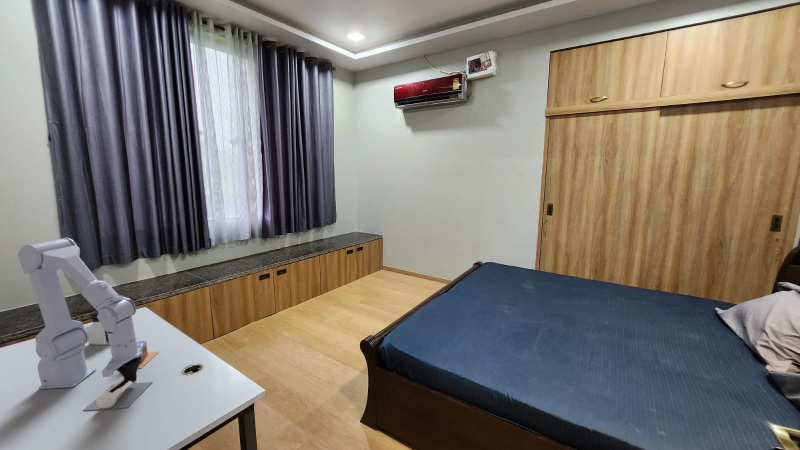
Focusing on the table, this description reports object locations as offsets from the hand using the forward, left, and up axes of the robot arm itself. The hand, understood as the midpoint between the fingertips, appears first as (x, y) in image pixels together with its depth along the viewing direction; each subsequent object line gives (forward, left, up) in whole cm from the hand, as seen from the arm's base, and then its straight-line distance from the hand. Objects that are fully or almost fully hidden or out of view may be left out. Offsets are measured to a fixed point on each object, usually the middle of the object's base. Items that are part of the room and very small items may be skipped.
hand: (131, 382), depth 92 cm
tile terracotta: (-8, +13, -2) cm, 15 cm away
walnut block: (-8, +13, -1) cm, 15 cm away
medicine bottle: (-28, +28, -2) cm, 39 cm away
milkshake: (0, 0, 0) cm, 0 cm away
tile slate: (-1, -4, -2) cm, 4 cm away
